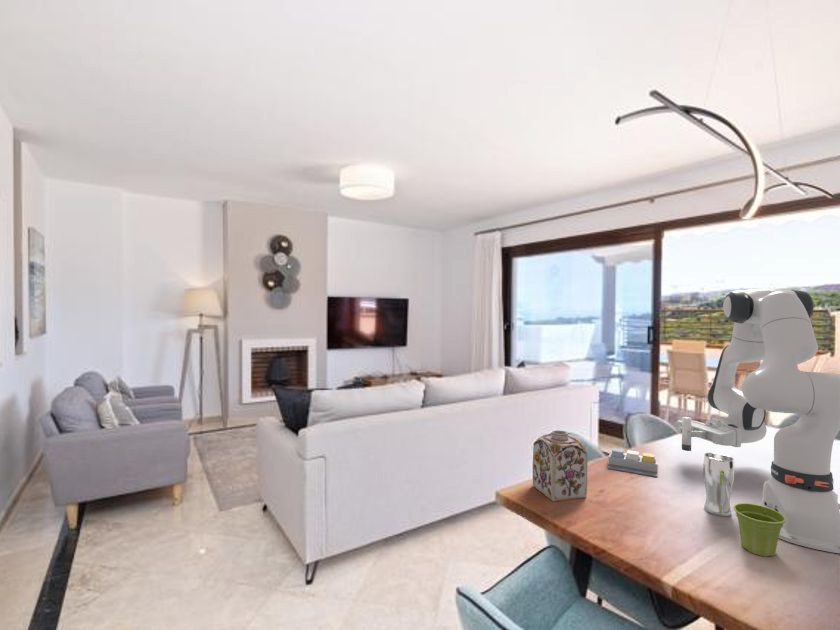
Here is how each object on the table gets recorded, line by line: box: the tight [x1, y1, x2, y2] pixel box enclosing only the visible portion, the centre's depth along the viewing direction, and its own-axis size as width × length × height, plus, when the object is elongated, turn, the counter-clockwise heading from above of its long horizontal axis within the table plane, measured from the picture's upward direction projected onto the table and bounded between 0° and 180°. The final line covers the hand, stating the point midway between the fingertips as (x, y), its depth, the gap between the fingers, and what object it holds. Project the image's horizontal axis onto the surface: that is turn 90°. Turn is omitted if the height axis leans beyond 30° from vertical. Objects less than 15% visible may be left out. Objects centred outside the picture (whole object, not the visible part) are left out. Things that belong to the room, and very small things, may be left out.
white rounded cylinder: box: [681, 416, 693, 452], centre depth 150 cm, size 3×3×11 cm
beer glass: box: [702, 452, 735, 517], centre depth 117 cm, size 7×7×15 cm
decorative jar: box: [532, 429, 589, 502], centre depth 129 cm, size 12×12×18 cm
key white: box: [626, 449, 640, 461], centre depth 150 cm, size 4×4×3 cm
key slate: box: [611, 447, 625, 459], centre depth 152 cm, size 4×4×3 cm
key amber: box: [642, 452, 656, 464], centre depth 148 cm, size 4×4×3 cm
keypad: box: [607, 451, 659, 478], centre depth 150 cm, size 13×15×3 cm
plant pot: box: [733, 502, 786, 557], centre depth 99 cm, size 9×9×9 cm
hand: (684, 432), depth 149 cm, fingers closed on white rounded cylinder, 3 cm apart
